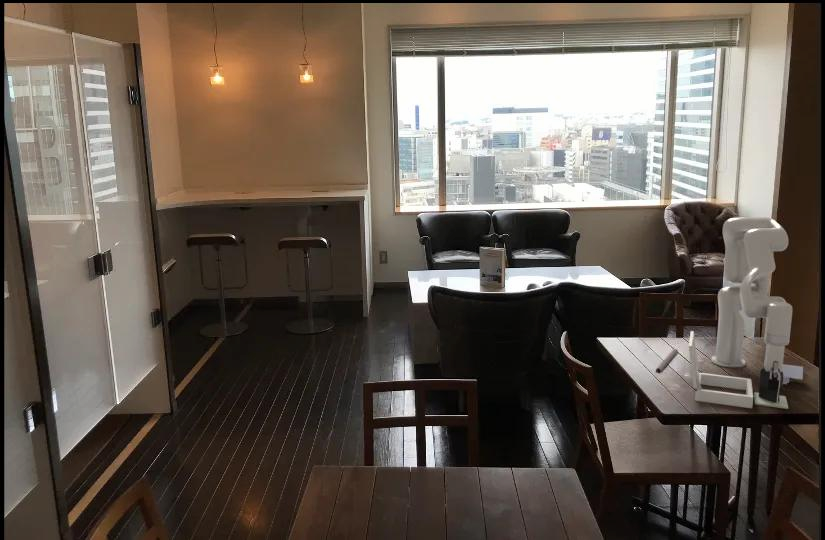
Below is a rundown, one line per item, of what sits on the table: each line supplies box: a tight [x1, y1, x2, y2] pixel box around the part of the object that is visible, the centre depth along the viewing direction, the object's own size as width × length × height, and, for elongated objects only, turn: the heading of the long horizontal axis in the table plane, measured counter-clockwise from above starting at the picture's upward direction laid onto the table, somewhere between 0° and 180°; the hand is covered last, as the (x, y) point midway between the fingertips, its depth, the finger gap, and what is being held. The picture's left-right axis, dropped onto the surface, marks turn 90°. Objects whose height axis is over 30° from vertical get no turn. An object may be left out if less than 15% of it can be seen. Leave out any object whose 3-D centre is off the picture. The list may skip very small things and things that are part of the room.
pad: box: [753, 391, 789, 409], centre depth 232 cm, size 10×10×1 cm
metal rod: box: [655, 348, 679, 373], centre depth 272 cm, size 2×27×2 cm, turn 146°
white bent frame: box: [688, 330, 754, 409], centre depth 237 cm, size 18×21×20 cm
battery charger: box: [758, 367, 784, 403], centre depth 231 cm, size 7×4×11 cm, turn 29°
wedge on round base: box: [782, 363, 804, 385], centre depth 249 cm, size 9×7×13 cm
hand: (771, 385), depth 231 cm, fingers open, 9 cm apart
